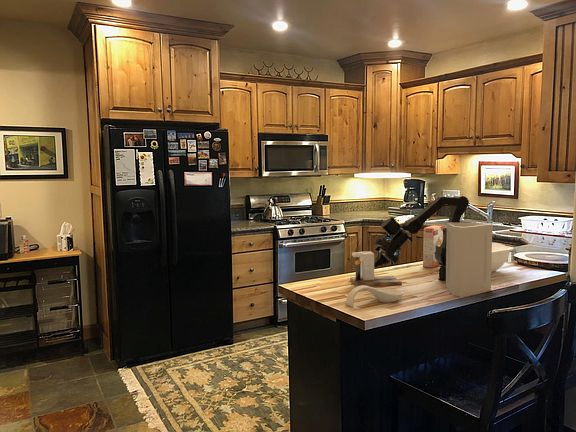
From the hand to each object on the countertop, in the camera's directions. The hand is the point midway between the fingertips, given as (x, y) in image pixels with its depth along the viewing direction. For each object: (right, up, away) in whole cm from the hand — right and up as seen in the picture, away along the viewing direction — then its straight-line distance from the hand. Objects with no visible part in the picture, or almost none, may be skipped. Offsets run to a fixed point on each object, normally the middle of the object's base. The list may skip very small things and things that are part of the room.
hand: (372, 267), depth 211 cm
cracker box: (+39, -3, +37) cm, 54 cm away
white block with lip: (-5, -5, 0) cm, 7 cm away
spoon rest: (-5, -11, -30) cm, 32 cm away
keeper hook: (-7, -6, 0) cm, 9 cm away
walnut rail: (+1, -7, +1) cm, 7 cm away
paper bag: (+35, -8, -14) cm, 39 cm away
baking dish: (+55, -4, +23) cm, 60 cm away
